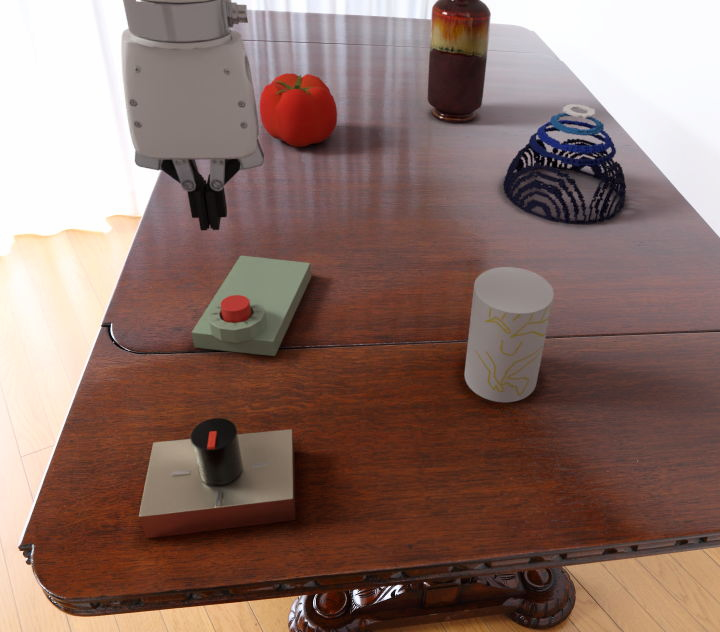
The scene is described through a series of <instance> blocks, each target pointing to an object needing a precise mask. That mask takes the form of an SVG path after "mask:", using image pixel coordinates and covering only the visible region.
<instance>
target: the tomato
mask: <svg viewBox="0 0 720 632" xmlns="http://www.w3.org/2000/svg"><path fill="white" fill-rule="evenodd" d="M259 114H260V120H261V123H262V126H263V128H264V130H266V132H267V133H268V135H270V136H271V137H273V138H274V139H276V140H279V141H284V142H285V143H286V144H287V145H289V146H292V147H295V148H302V147H307V146H310V145H317V144H320V143H322V142H324V141H325V140H327V139H329V138H330V136H331V135H332V134H333V132H334V131H335V130H336V126H337V122H338V109H337V105H336V101H335V98H334V96H333V95H332V93H331V91H330V88H329V86H328V85H327V84H326V83H325V82H324V81H323V80H322V79H321V78H320V77H319V76H316V75H313V74H311V73H306V74H304V75H303V76H302V75H301V74H300V75H298V74H296V73H282V74H281V75H278V76H276V77H274V79H273V80H271V82H270V83H269V84H267V85H265V86H264V88H263V89H262V92H261V93H260V99H259Z"/></svg>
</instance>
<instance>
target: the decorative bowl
mask: <svg viewBox="0 0 720 632" xmlns="http://www.w3.org/2000/svg"><path fill="white" fill-rule="evenodd" d="M573 109H579V110H584V111H586V113H582V112H576V111H574V110H573ZM595 115H597V112H596V109H595V108H591V106H587V105H583V104H578V103H570V104H566V105H565V106H563V108H562V112H559V113H557V114H556V115H555V114H553V115H552V116H551V117H550V119H549V121H548V122H546V123H545V124H543V125H541V126H540V127H538V128H537V130H536V132H535V133H533V134H532V135H530V138H529V139H528V143H527V144H525V146H524V147H523V148H521V149H520V150H518V152H517V153H516V155H515V157H514V158H512V160H511V162H510V164H509V165H508V167H507V170H506V174H505V176H504V181H503V184H502V186H503V191H504V195H506V198H508V200H509V201H510V202H511V203H512V204H513V205H514V206H516V207H517V208H520V210H522V211H524V212H525V213H528V214H530V215H534V216H537V217H539V218H542V219H545V220H548V221H552V222H556V223H557V222H558V223H559V222H561V223H564V224H571V223H572V224H574V225H578V224H579V225H581V224H582V225H585V224H587V225H589V224H596V223H598V222H599V223H602V222H604V221H606V220H611V219H614V218H615V217H616V216H617V215H618V214H619V213H620V212H621V211H622V210H623V209H624V207H625V203H626V194H627V189H626V188H627V184H626V181H625V180H626V179H625V174H624V171H623V167H622V166H621V163H618V161H615V160H614V159H613V158H614V157H615V155H616V153H617V149H616V148H617V147H615V143H614V141H613V139H612V137H610V135H609V133H608V132H606V131H605V130H604V126H605V124H604V123H602V121H600V120H599V119H597V118H595V117H594V116H595ZM563 117H575V118H583V119H586V120H588V121H592V122H593V123H594V124H591V123H588V122H584V121H578V120H572V119H570V120H568V119H562V120H561V118H563ZM567 125H568V126H567ZM572 125H573V126H578V127H584V128H586V129H582V128H581V129H580V128H578V127H573V126H572ZM550 126H551V127H550ZM571 126H572V127H571ZM549 132H562V133H565V134H568V135H569V134H571V135H574V136H575V135H577V136H590V137H593V138H595V139H597V140H599V141H601V142H600V143H596V142H592V141H589V140H586V139H583V138H582V139H580V138H576V139H575V138H567V140H564V141H562V142H561V141H560V140H557V139H556V138H553V137H552V136H549V134H548V133H549ZM603 136H604V137H603ZM546 145H547V146H550V147H551V148H552V150H551V151H548V150H547V147H546ZM609 148H610V149H611V151H610V152H608V150H609ZM559 150H560V151H559ZM527 154H528V155H527ZM569 155H570V156H569ZM528 156H529V157H530V158H529V157H528ZM522 158H523V159H522ZM529 160H530V165H529ZM559 161H560V163H559ZM545 163H546V164H545ZM569 165H570V167H568V166H569ZM586 167H589V168H590V170H591V171H592V173H591V172H588V171H585V170H582V169H584V168H586ZM539 169H540V170H544V171H547V172H550V173H553V174H556V176H557V177H555V176H552V175H549V174H546V173H544V172H541V171H539ZM562 170H564V171H571V172H574V173H577V174H582V175H585V176H589V177H592V178H593V179H596V180H599V181H600V182H599V183H598V185H597V186H596V189H595V191H594V193H593V195H592V199H591V202H590V204H589V206H588V209H589V214H586V210H587V205H586V204H587V203H585V202H586V200H585V199H584V198H585V196H584V194H583V193H582V191H581V189H580V187H578V186H579V185H577V181H576V179H575V178H571V175H570V173H568V172H563V171H562ZM526 173H528V174H526ZM525 174H526V175H525ZM538 177H539V178H541V179H543V180H547V181H550V182H552V183H557V186H556V185H554V184H551V183H546V182H544V181H542V180H539V179H537V178H538ZM558 177H559V178H558ZM532 178H534V179H532ZM563 178H565V179H563ZM530 179H532V180H531V181H530V182H528V183H526V181H529V180H530ZM521 183H526V184H524V185H522V186H521ZM566 183H568V184H569V186H567V184H566ZM601 185H602V186H601ZM520 186H521V187H520ZM558 186H559V187H558ZM570 186H572V188H573V191H572V190H569V189H570ZM608 187H609V189H608ZM516 189H517V191H516ZM533 189H535V190H533ZM607 189H608V191H607V192H606V190H607ZM531 190H533V191H531ZM542 190H543V191H546V193H545V192H543V191H542ZM515 191H516V192H515ZM528 191H530V192H528ZM563 191H564V193H565V194H566V196H567V198H570V199H569V203H570V204H572V206H571V207H572V208H573V209H572V213H573V218H574V220H572V218H571V212H570V209H569V205H568V203H567V202H566V201H565V199H564V197H563V196H564V193H563ZM514 192H515V193H514ZM525 192H527V193H526V194H524V193H525ZM574 192H575V193H576V195H577V198H578V201H579V202H580V203H581V204H580V208H581V212H582V217H583V219H578V218H579V217H578V216H579V214H580V208H579V205H578V203H577V199H576V197H575V195H574ZM605 193H606V195H605V197H604V194H605ZM613 193H615V194H614V197H613V198H612V199H611V196H612V195H613ZM522 194H524V195H523V196H522ZM535 195H537V196H540V197H543V198H544V199H545V198H546V199H547V201H550V204H551V205H552V206H554V210H555V213H556V217H554V215H553V214H552V213H553V212H552V211H551V210H552V209H551V207H550V206H549V205H547V204H548V203H546V202H543V201H540V200H537V199H535V198H532V197H534V196H535ZM551 195H553V196H551ZM553 197H554V198H555V199H553ZM618 197H619V199H618V201H616V200H617V198H618ZM529 198H532V199H530V200H528V199H529ZM527 200H528V201H527ZM556 200H558V201H556ZM525 201H526V205H525ZM557 202H559V204H560V206H561V207H560V206H559V205H558V203H557ZM594 202H595V204H594ZM601 202H602V203H601ZM615 202H616V203H615ZM593 204H594V206H593ZM600 204H601V207H600ZM614 204H615V205H614ZM613 206H614V208H613ZM537 207H538V208H541V210H542V212H543V213H544V214H545V215H543V214H540V213H537V212H535V211H533V209H535V208H537ZM599 207H600V209H599ZM612 208H613V212H612V213H611V211H612ZM593 210H594V214H595V216H594V218H593V219H591V218H592V213H593ZM562 213H563V218H564V219H562V218H561V215H562ZM605 214H606V216H605ZM587 215H588V216H587ZM587 217H588V218H587Z"/></svg>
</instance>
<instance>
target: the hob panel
mask: <svg viewBox="0 0 720 632" xmlns="http://www.w3.org/2000/svg"><path fill="white" fill-rule="evenodd" d="M237 435H238V441H239V446H240V452H241V458H242V464H243V467H242V471H241V473H240V474H239V476H238V477H237V478H236V479H234V480H233V481H231V482H229V483H227V484H224V485H210V484H207V483H205V482H203V481H202V480H201V478H200V477H199V473H198V469H197V465H196V460H195V456H194V452H193V448H192V443H191V438H186V439H175V440H165V441H163V440H162V441H156V442H155V441H154V442H152V448H151V453H150V458H149V462H148V467H147V472H146V477H145V483H144V486H143V487H144V488H143V493H142V498H141V503H140V508H139V513H138V519H139V521H140V525H141V528H142V531H143V534H144V536H145V539H146V540H147V539H154V538H163V537H164V538H165V537H170V536H171V537H172V536H180V535H187V534H196V533H202V532H212V531H219V530H227V529H228V530H229V529H236V528H243V527H252V526H258V525H259V526H260V525H268V524H277V523H283V522H285V523H286V522H290V521H291V522H292V521H296V469H295V467H296V465H295V461H296V460H295V444H294V434H293V429H292V428H291V429H290V428H289V429H280V430H279V429H278V430H270V431H259V432H248V433H239V434H238V433H237Z"/></svg>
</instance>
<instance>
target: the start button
mask: <svg viewBox="0 0 720 632" xmlns="http://www.w3.org/2000/svg"><path fill="white" fill-rule="evenodd" d="M221 311H222V317H223V319H224V320H225V321H226V322H229V323H239V322H244V321H246V320H248V319H249V318H250V316H251V309H250V301H249V299H248V298H247V297H245V296H242V295H232V296H229V297H226V298H225V299H223V300H222V302H221Z"/></svg>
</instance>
